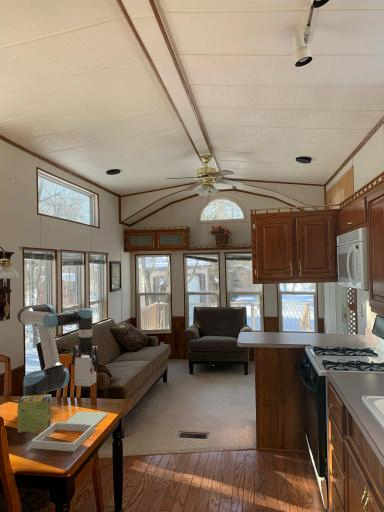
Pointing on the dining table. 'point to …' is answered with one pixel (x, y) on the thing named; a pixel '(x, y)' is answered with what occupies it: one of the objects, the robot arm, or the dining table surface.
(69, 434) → the dining table surface
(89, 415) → the pad
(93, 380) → the supplement box
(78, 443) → the bin
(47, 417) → the protein box
